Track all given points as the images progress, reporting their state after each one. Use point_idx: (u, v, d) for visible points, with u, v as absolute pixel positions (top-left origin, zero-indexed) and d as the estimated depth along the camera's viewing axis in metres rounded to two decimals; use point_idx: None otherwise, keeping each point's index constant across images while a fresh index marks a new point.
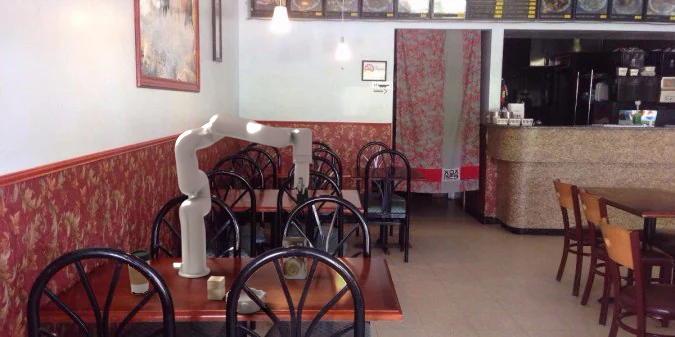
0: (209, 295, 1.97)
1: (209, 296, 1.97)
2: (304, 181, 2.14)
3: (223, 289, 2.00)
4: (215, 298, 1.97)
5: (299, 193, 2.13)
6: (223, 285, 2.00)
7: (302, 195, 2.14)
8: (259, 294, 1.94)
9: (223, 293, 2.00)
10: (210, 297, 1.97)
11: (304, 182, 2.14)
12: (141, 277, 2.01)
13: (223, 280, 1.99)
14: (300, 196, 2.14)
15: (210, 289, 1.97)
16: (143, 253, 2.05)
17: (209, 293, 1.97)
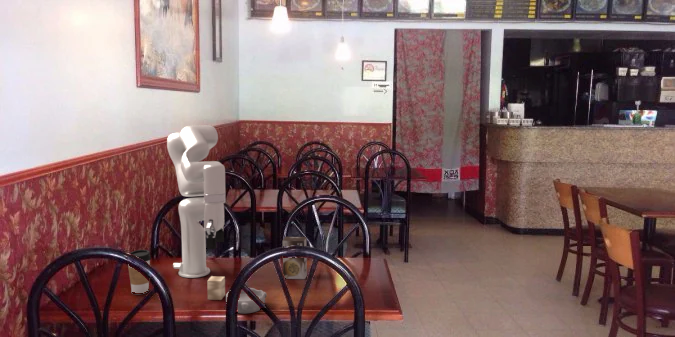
0: (209, 295, 1.97)
1: (209, 296, 1.97)
2: (215, 223, 1.91)
3: (223, 289, 2.00)
4: (215, 298, 1.97)
5: (209, 237, 1.91)
6: (223, 285, 2.00)
7: (213, 239, 1.91)
8: (259, 294, 1.94)
9: (223, 293, 2.00)
10: (210, 297, 1.97)
11: (215, 224, 1.91)
12: (141, 277, 2.01)
13: (223, 280, 1.99)
14: (210, 240, 1.91)
15: (210, 289, 1.97)
16: (143, 253, 2.05)
17: (209, 293, 1.97)
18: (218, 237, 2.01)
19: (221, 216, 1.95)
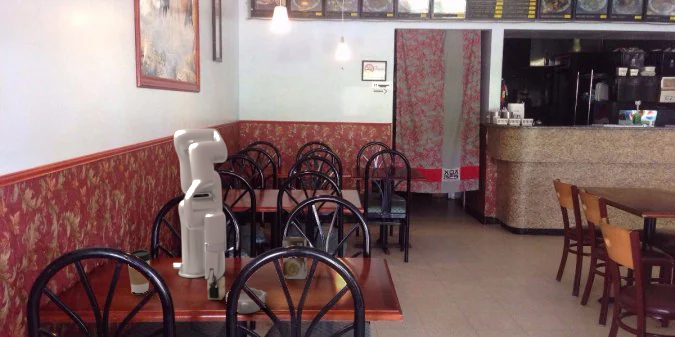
0: None
1: (209, 296, 1.97)
2: (216, 272, 1.94)
3: (223, 289, 2.00)
4: (215, 298, 1.97)
5: (211, 287, 1.95)
6: (223, 285, 2.00)
7: (215, 289, 1.96)
8: (259, 294, 1.94)
9: (223, 293, 2.00)
10: None
11: (216, 273, 1.94)
12: (141, 277, 2.01)
13: (223, 280, 1.99)
14: (213, 290, 1.96)
15: None
16: (143, 253, 2.05)
17: None
18: None
19: (222, 264, 1.98)
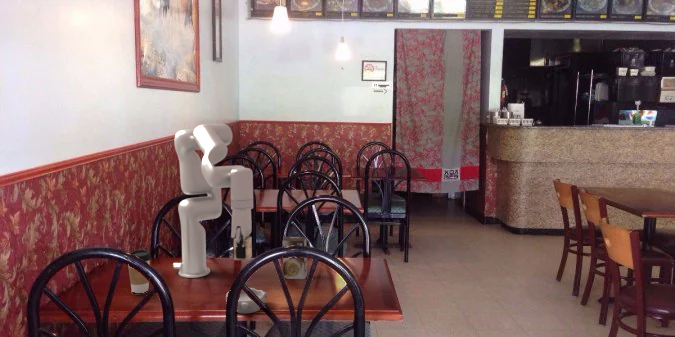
0: None
1: None
2: (243, 230, 1.83)
3: (250, 249, 1.90)
4: None
5: (238, 246, 1.85)
6: (250, 245, 1.89)
7: (242, 248, 1.85)
8: (259, 294, 1.94)
9: (250, 254, 1.90)
10: None
11: (243, 231, 1.83)
12: (141, 277, 2.01)
13: (250, 239, 1.89)
14: (240, 249, 1.85)
15: None
16: (143, 253, 2.05)
17: None
18: None
19: (249, 222, 1.87)
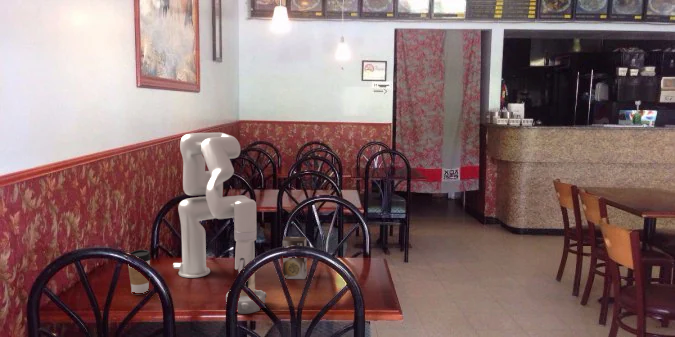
0: None
1: None
2: (246, 262, 1.84)
3: (253, 285, 1.90)
4: (245, 294, 1.88)
5: None
6: (253, 281, 1.90)
7: None
8: (259, 294, 1.94)
9: (253, 289, 1.91)
10: (240, 293, 1.88)
11: (246, 263, 1.84)
12: (141, 277, 2.01)
13: (253, 275, 1.90)
14: None
15: None
16: (143, 253, 2.05)
17: None
18: None
19: (252, 254, 1.88)
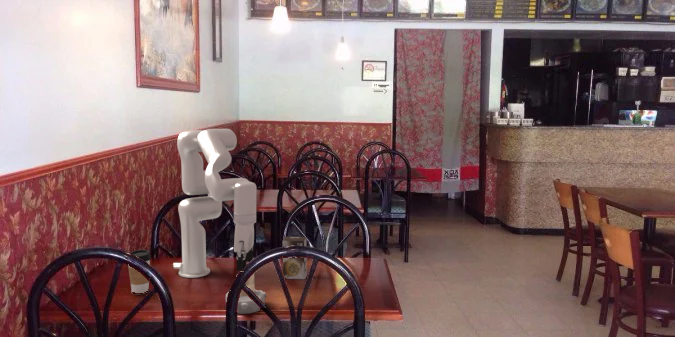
0: None
1: None
2: (245, 245, 1.84)
3: (253, 285, 1.90)
4: (244, 294, 1.88)
5: (239, 259, 1.83)
6: (253, 281, 1.90)
7: (243, 261, 1.84)
8: (259, 294, 1.94)
9: (253, 289, 1.91)
10: None
11: (245, 246, 1.84)
12: (141, 277, 2.01)
13: (252, 275, 1.90)
14: (240, 262, 1.84)
15: None
16: (143, 253, 2.05)
17: None
18: (247, 257, 1.94)
19: (251, 236, 1.88)
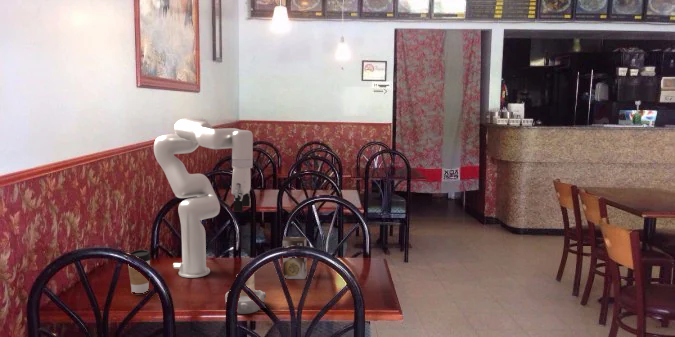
0: None
1: None
2: (242, 187, 1.99)
3: (252, 285, 1.90)
4: (244, 294, 1.88)
5: (236, 200, 1.99)
6: (252, 281, 1.90)
7: (240, 202, 1.99)
8: (258, 294, 1.94)
9: (253, 289, 1.91)
10: None
11: (242, 188, 1.99)
12: (141, 277, 2.01)
13: (252, 275, 1.90)
14: (237, 203, 1.99)
15: None
16: (143, 253, 2.05)
17: None
18: (244, 201, 2.10)
19: (248, 181, 2.03)
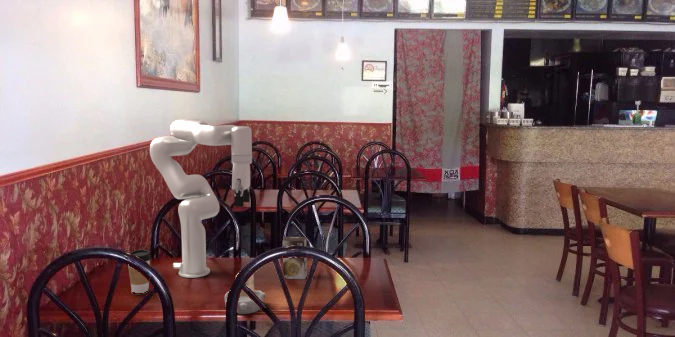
0: None
1: None
2: (242, 182, 2.01)
3: (252, 285, 1.90)
4: (244, 295, 1.88)
5: (237, 195, 2.01)
6: (252, 281, 1.90)
7: (240, 197, 2.01)
8: (258, 294, 1.94)
9: (252, 290, 1.90)
10: None
11: (242, 183, 2.01)
12: (141, 277, 2.01)
13: (252, 275, 1.89)
14: (238, 198, 2.01)
15: None
16: (143, 253, 2.05)
17: None
18: (244, 197, 2.11)
19: (248, 176, 2.05)
